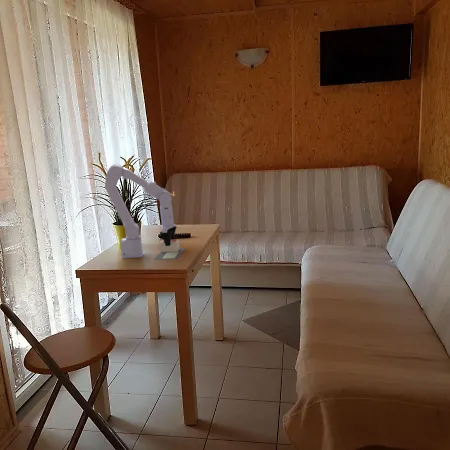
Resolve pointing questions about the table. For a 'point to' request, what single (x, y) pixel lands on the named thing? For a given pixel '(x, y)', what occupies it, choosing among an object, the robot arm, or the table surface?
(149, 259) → the table surface
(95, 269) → the table surface
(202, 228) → the table surface
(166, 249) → the card box
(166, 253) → the mat
